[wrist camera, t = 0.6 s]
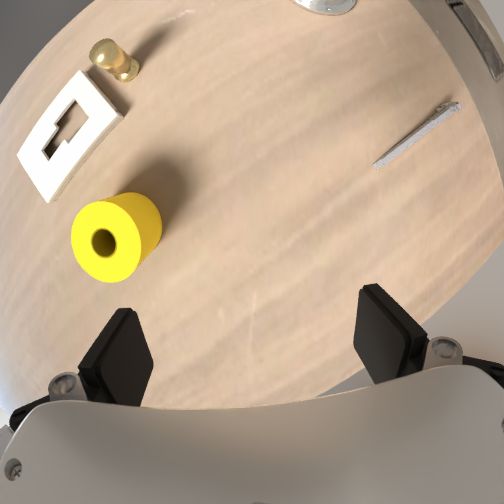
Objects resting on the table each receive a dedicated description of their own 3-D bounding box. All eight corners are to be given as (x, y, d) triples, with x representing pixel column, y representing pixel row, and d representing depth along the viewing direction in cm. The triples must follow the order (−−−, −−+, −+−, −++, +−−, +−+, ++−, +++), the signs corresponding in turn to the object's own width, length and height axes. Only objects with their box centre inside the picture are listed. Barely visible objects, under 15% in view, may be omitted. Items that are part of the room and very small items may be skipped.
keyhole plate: (86, 73, 29) (79, 69, 27) (124, 117, 32) (117, 114, 30) (25, 154, 32) (16, 155, 30) (55, 201, 35) (47, 203, 33)
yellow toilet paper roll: (141, 269, 40) (118, 297, 31) (93, 232, 37) (61, 250, 29) (175, 218, 38) (156, 234, 29) (122, 179, 35) (91, 184, 26)
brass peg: (131, 54, 29) (106, 32, 20) (144, 68, 30) (121, 46, 22) (111, 72, 30) (83, 54, 21) (124, 87, 31) (96, 70, 22)
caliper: (440, 103, 33) (462, 99, 27) (443, 108, 34) (465, 105, 28) (371, 164, 37) (392, 165, 31) (375, 169, 37) (396, 171, 31)
